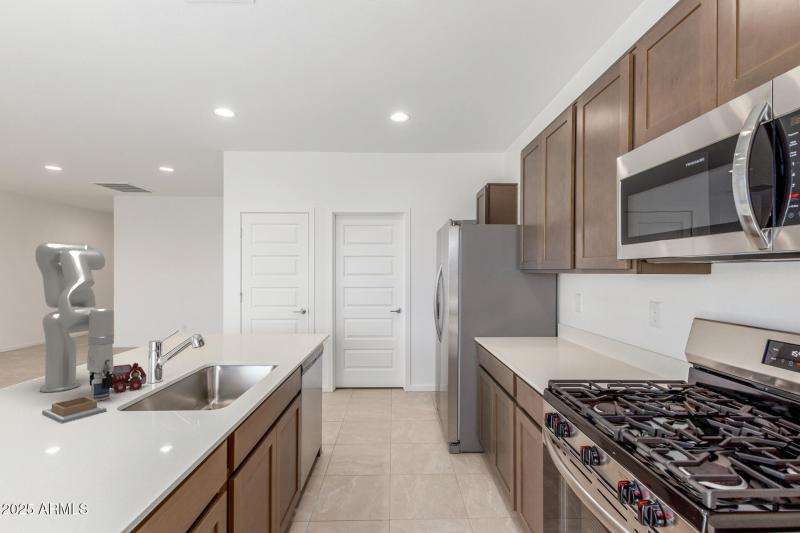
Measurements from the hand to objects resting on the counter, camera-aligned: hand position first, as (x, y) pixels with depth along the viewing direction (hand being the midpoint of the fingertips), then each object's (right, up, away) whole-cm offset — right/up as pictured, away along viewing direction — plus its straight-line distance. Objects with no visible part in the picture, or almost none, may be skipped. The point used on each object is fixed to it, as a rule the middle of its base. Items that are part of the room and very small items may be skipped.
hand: (101, 386), depth 143 cm
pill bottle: (0, -5, 0) cm, 5 cm away
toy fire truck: (+2, -5, +12) cm, 13 cm away
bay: (+2, -5, -14) cm, 15 cm away
